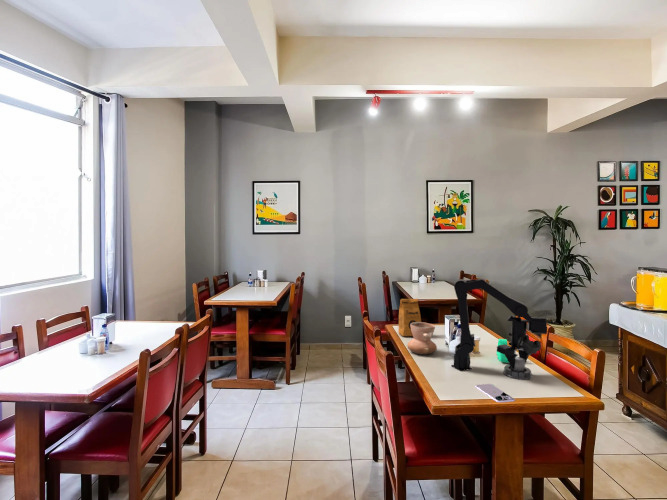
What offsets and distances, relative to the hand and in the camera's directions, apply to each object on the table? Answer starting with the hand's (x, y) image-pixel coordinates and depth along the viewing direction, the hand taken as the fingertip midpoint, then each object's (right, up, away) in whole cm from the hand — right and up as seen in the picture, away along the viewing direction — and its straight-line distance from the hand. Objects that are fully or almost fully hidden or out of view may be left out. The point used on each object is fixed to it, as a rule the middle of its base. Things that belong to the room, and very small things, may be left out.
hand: (517, 367), depth 160 cm
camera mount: (+4, -3, +19) cm, 19 cm away
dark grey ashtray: (0, -3, 0) cm, 3 cm away
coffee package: (-34, -1, +62) cm, 71 cm away
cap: (0, -1, 0) cm, 1 cm away
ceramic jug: (-34, -2, +31) cm, 46 cm away
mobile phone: (-18, -4, -19) cm, 27 cm away
